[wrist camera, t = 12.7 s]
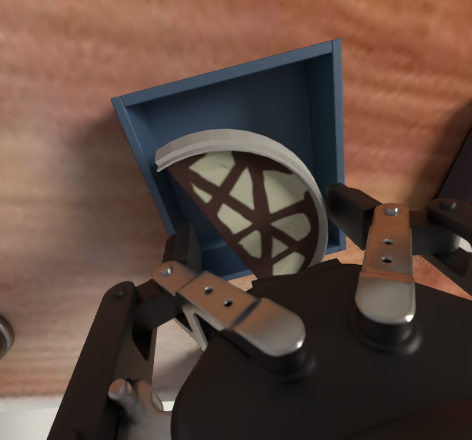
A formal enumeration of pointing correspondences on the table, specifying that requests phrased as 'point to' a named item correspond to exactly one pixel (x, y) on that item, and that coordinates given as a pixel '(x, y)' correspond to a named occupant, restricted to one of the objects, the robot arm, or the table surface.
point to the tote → (247, 119)
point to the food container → (252, 197)
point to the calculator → (461, 182)
